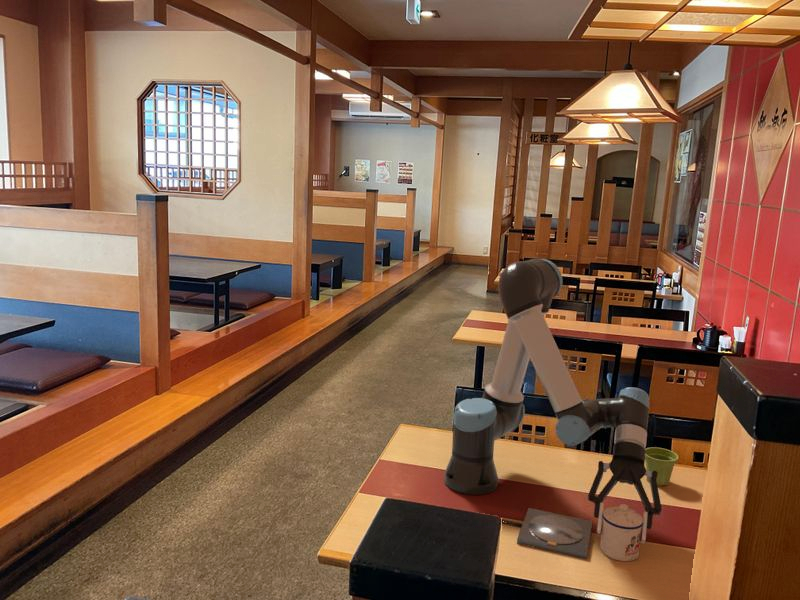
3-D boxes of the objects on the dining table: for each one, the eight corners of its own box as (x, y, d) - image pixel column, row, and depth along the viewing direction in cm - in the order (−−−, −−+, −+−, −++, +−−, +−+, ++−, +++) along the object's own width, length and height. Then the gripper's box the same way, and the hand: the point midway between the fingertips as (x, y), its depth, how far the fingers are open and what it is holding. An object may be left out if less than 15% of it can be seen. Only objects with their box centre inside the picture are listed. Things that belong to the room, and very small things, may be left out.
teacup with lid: (631, 567, 144) (636, 519, 141) (592, 552, 149) (597, 505, 147) (649, 545, 153) (654, 500, 151) (612, 531, 158) (616, 488, 156)
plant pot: (671, 492, 180) (675, 463, 179) (637, 483, 185) (640, 455, 184) (677, 480, 188) (680, 452, 187) (644, 471, 193) (647, 444, 192)
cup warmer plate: (488, 536, 154) (488, 530, 154) (502, 506, 169) (502, 501, 168) (586, 559, 146) (587, 552, 146) (591, 525, 161) (592, 519, 161)
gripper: (675, 460, 158) (670, 552, 146) (584, 445, 166) (572, 531, 154) (678, 448, 153) (673, 542, 141) (584, 432, 160) (572, 521, 148)
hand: (620, 536), depth 147 cm, fingers closed on teacup with lid, 9 cm apart
